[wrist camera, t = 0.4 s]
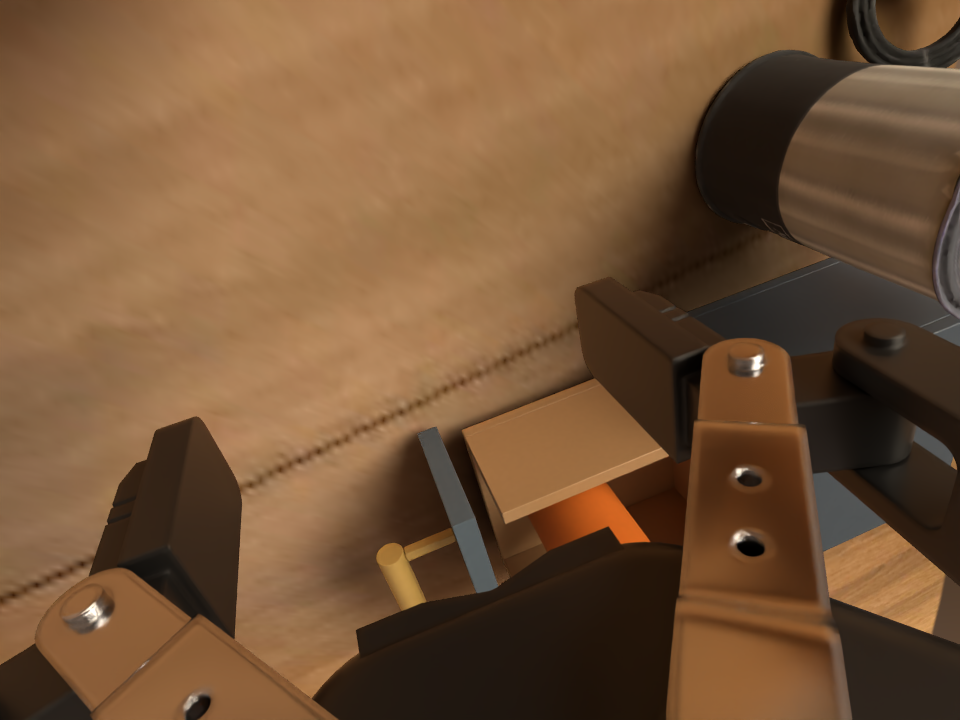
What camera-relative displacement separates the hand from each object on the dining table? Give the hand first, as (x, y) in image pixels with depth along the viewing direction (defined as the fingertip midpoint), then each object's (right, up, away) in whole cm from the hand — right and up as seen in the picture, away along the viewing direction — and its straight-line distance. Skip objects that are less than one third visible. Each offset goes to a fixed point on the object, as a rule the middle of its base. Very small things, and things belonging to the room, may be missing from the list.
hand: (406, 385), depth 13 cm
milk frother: (+20, +16, +21) cm, 33 cm away
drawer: (+5, -7, +27) cm, 28 cm away
